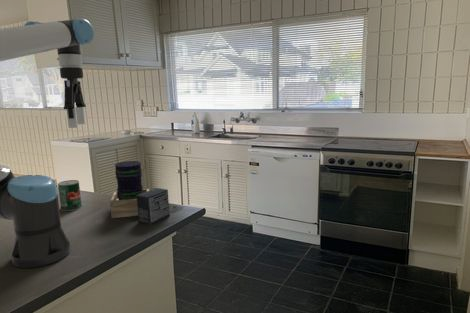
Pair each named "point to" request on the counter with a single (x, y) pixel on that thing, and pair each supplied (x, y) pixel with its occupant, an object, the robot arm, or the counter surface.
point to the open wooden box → (123, 206)
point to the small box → (153, 205)
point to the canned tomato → (69, 195)
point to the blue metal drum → (128, 179)
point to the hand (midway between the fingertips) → (77, 126)
